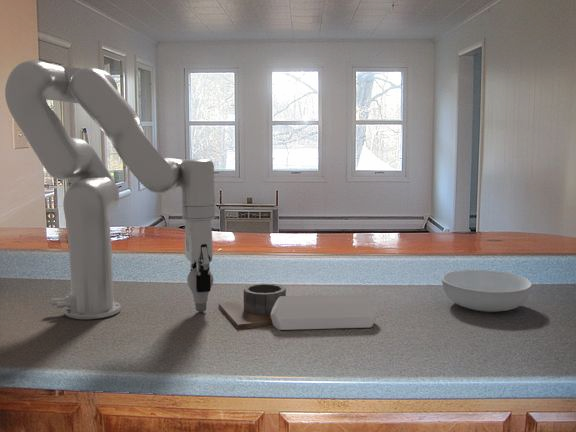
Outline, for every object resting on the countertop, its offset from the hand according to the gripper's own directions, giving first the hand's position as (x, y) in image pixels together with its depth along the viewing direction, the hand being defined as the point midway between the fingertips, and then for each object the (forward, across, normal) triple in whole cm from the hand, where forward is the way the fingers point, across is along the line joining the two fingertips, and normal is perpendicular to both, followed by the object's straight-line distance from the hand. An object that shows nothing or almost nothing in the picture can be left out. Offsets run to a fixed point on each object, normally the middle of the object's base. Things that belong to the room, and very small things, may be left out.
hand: (200, 287), depth 153 cm
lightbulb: (+6, 0, 0) cm, 6 cm away
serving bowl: (+6, +19, +66) cm, 69 cm away
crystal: (+7, +18, +24) cm, 31 cm away
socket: (+6, +6, +14) cm, 16 cm away
